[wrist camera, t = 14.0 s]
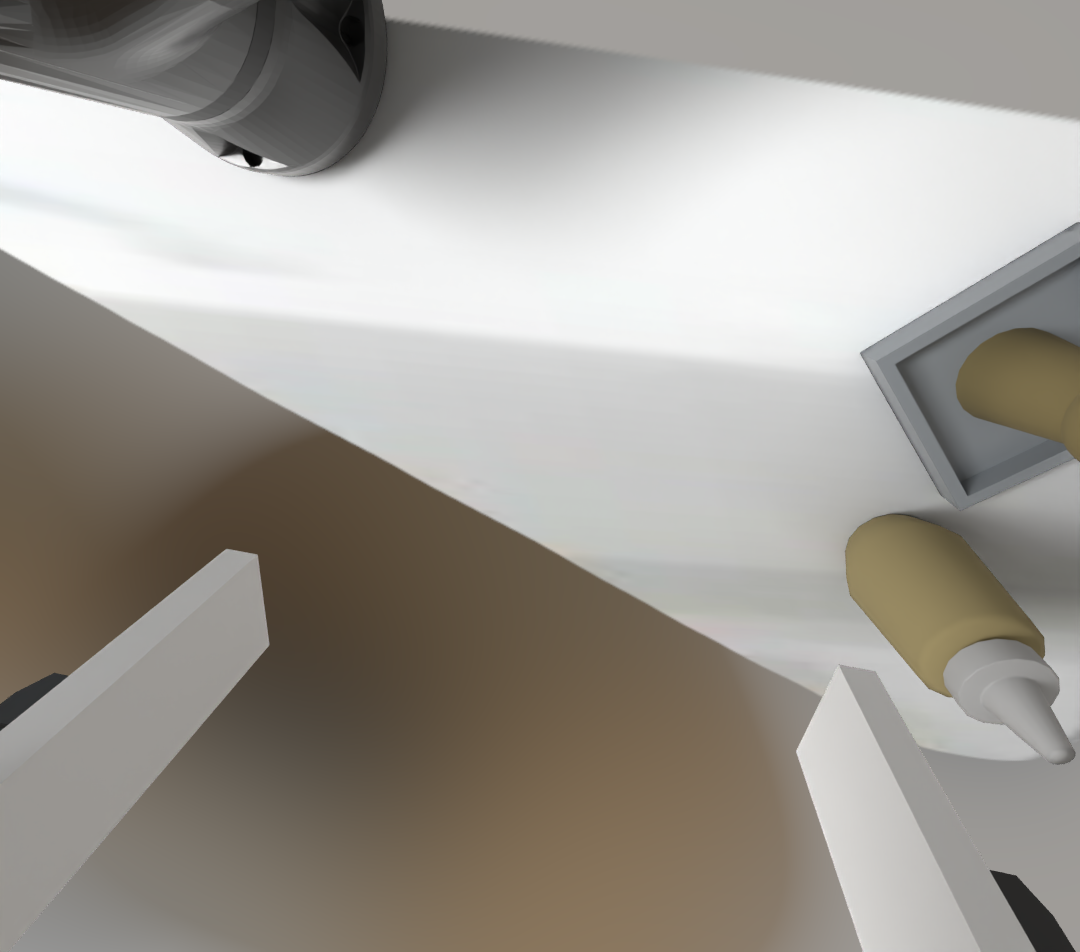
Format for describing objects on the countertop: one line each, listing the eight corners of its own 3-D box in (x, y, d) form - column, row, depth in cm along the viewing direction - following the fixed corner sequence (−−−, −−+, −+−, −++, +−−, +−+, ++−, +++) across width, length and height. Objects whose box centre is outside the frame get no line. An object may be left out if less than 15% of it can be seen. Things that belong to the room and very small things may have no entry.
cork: (959, 337, 33) (1101, 383, 23) (1073, 318, 32) (1275, 357, 22) (951, 428, 36) (1077, 504, 26) (1058, 413, 34) (1233, 487, 24)
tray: (859, 353, 35) (875, 361, 33) (1077, 222, 31) (1112, 222, 29) (940, 494, 38) (959, 510, 36) (1147, 395, 34) (1185, 406, 32)
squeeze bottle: (960, 565, 41) (1186, 789, 24) (851, 604, 43) (988, 828, 27) (925, 481, 38) (1148, 666, 22) (812, 527, 41) (936, 722, 25)
